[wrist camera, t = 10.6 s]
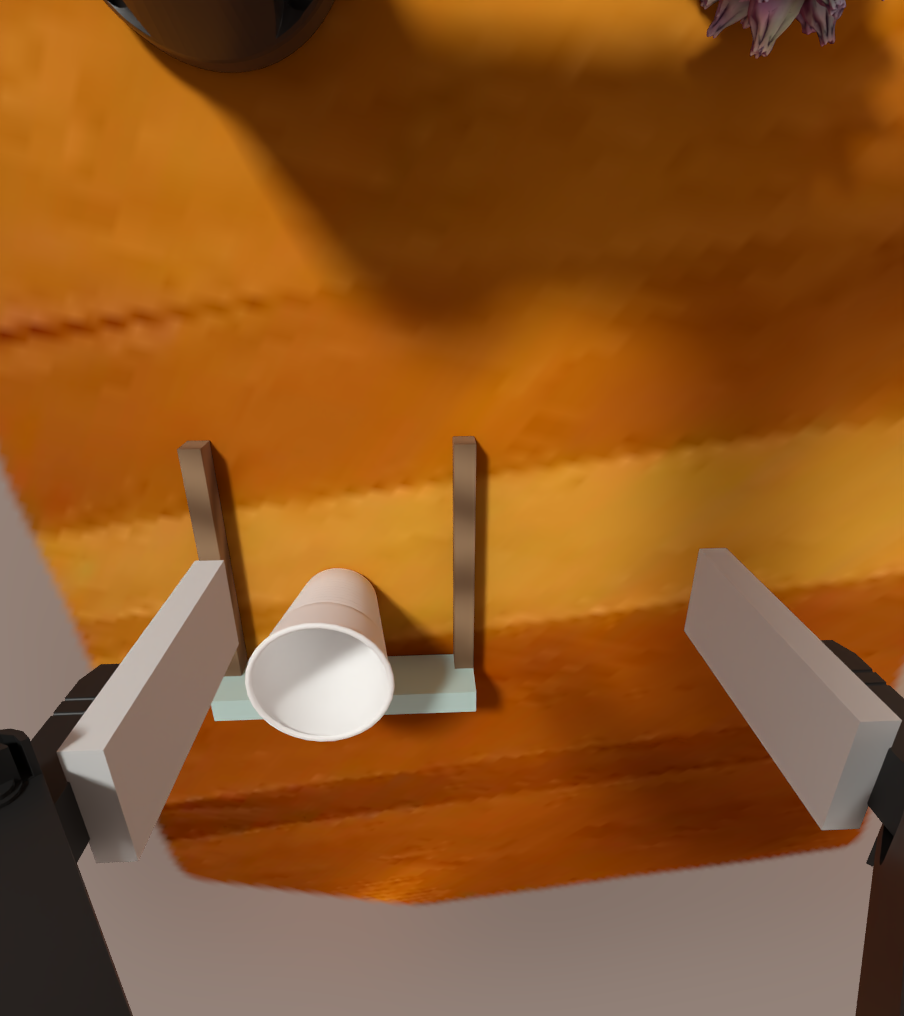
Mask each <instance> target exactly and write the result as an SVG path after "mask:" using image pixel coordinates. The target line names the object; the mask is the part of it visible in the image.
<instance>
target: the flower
mask: <svg viewBox="0 0 904 1016" xmlns="http://www.w3.org/2000/svg"><path fill="white" fill-rule="evenodd" d="M700 1H701V6H703V7H704V9H707V8H708V7H709V6H711V5H712V4H713V3H715V2H717V1H719V3H718V7H717V11H716V14H715V17H714V20H713V22H712V23H711V25H710V26H709V28H708V30H707V37H710V36H713V38H716V37H717V36H718V35H719V33H720V32H721V31H722V30H723V29H724V28H726V27H728V26H730V25H732V24H734V23H736V22H738V21H740V20H741V22H740V24H742V26H743V29H746V28H749V27H750V28H751V32H752V37H753V42H752V47H751V51H750V57H751V56H752V55H755V58H756V59H757V58H758V57H760V56H761V55H762V56H763V57H765V56H768V54H769V53H770V52H771V50H772V48H773V45H774V43H775V41H776V39H777V38H778V37H779V36H780V35H781V34H782V33H783V32H784V31H785V30H786V29H787V28H788V27H789V26H790V25H791V23H792V22H793V20H794V19H795V18H796V19H797V20H798V21H799V22H800V23H801V26H802V33H805V34H807V35H809V34H810V33H812V32H817V34H818V37H819V41H820V45H821V46H823V45H826V44H827V42H829V43H830V44H833V43H834V42H835V23H836V20H838V19H839V18H840V17H841V15H842V12H843V9H844V8H845V7H846V2H845V0H700ZM882 1H884V0H882Z"/></svg>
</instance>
